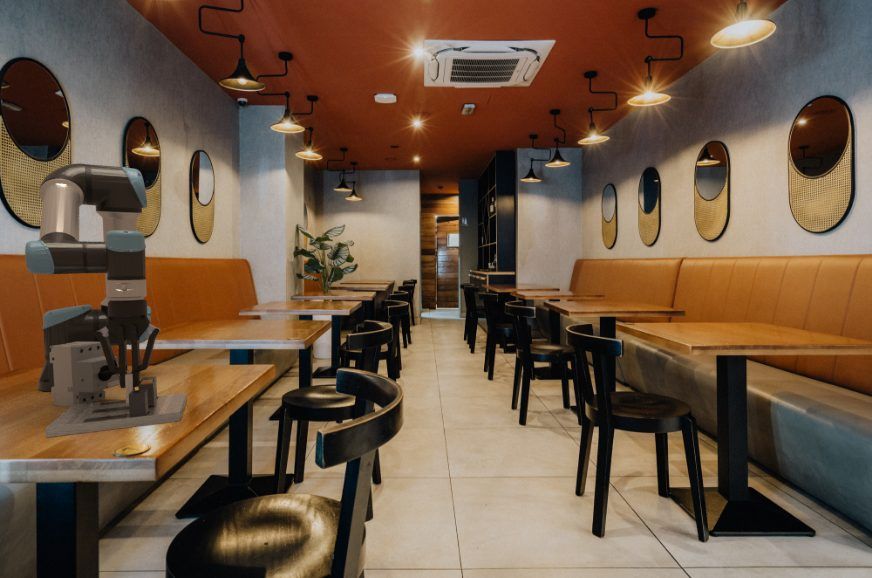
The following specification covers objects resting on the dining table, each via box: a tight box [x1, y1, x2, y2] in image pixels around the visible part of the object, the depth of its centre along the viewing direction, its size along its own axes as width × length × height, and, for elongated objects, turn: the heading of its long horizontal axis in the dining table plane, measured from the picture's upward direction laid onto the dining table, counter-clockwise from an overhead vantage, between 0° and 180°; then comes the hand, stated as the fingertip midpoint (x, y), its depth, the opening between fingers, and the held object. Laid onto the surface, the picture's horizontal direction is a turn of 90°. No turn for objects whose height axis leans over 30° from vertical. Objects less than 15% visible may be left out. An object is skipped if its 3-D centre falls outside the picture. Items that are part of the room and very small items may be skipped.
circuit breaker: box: [50, 342, 120, 407], centre depth 123 cm, size 8×14×15 cm, turn 78°
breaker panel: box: [45, 376, 188, 438], centre depth 110 cm, size 18×24×7 cm
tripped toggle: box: [137, 379, 157, 406], centre depth 112 cm, size 4×3×5 cm
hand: (130, 401), depth 111 cm, fingers closed
